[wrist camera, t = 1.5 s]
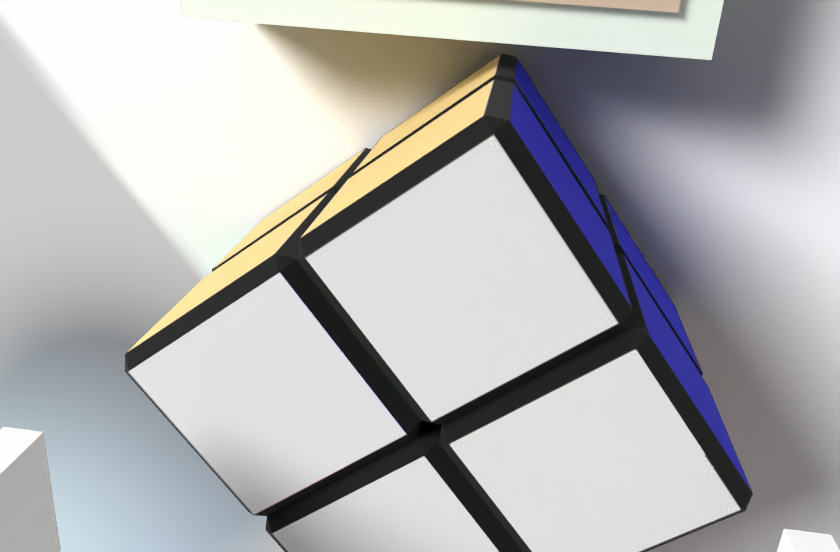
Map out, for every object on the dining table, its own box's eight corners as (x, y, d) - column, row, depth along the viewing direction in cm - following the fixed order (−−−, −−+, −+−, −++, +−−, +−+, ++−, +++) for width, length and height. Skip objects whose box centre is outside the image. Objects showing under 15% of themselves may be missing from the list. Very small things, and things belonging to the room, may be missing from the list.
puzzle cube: (678, 308, 25) (765, 514, 16) (428, 439, 28) (379, 673, 19) (510, 45, 22) (497, 106, 13) (257, 221, 26) (106, 369, 16)
